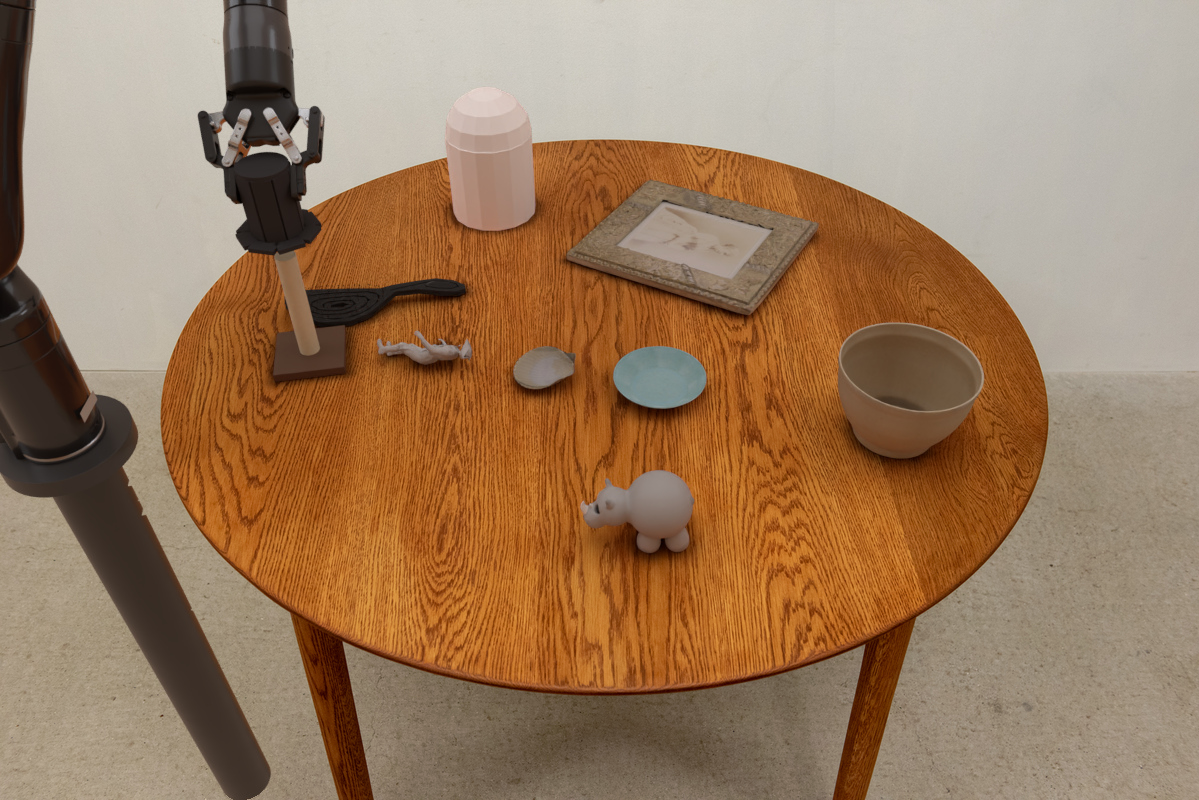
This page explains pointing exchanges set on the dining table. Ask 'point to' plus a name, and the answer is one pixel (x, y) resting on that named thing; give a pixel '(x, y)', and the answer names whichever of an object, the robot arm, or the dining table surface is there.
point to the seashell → (543, 367)
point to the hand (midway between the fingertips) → (266, 200)
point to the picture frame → (696, 245)
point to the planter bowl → (906, 386)
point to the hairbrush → (369, 300)
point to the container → (490, 160)
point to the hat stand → (305, 332)
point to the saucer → (659, 377)
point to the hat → (271, 207)
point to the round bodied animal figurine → (646, 509)
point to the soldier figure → (426, 350)
